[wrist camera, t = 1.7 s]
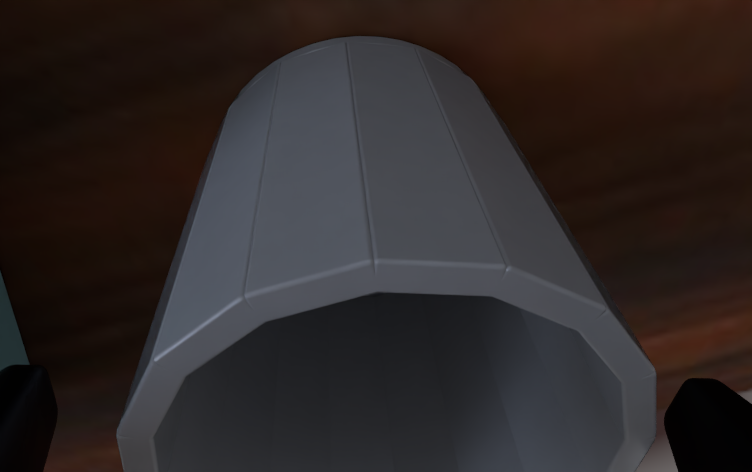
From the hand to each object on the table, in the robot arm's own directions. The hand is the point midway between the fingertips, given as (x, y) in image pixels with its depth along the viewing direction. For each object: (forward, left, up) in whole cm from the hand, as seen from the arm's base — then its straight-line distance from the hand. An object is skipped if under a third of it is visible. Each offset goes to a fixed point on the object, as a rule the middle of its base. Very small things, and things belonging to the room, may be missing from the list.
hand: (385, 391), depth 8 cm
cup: (0, 0, -6) cm, 6 cm away
